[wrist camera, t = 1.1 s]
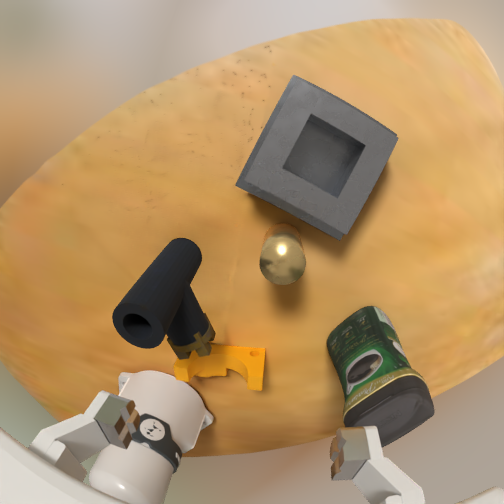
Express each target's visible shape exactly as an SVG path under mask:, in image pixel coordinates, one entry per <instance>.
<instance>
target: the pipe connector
mask: <svg viewBox="0 0 504 504" xmlns="http://www.w3.org/2000/svg"><path fill="white" fill-rule="evenodd" d="M201 261H202V254H201V251H200V249H199V247H198V246H197V245H196V244H195V243H194V242H193V241H191V240H189V239H186V238H177V239H174V240H172V241H171V242H170V243H169V244H168V245H167V246H166V247H165V248H164V250H163V251H162V252H161V253H160V254H159V255H158V257H157V258H156V259H155V260H154V261H153V262H152V264H151V265H150V266H149V267H148V268H147V270H146V271H145V272H144V273H143V274H142V276H141V277H140V278H139V279H138V281H137V282H136V283H135V284H134V285H133V287H132V288H131V289H130V290H129V292H128V293H127V294H126V295H125V297H124V298H123V299H122V300H121V302H120V303H119V304H118V306H117V307H116V308H115V310H114V312H113V317H112V318H113V323H114V326H115V328H116V330H117V332H118V333H119V334H120V335H121V336H122V337H123V338H124V339H125V340H126V341H127V342H129V343H131V344H132V345H135V346H137V347H140V348H146V349H147V348H154V347H157V346H159V345H160V344H161V342H162V341H163V339H164V337H165V335H166V334H167V336H168V338H167V341H168V343H169V344H170V346H171V347H172V349H173V351H174V352H175V354H176V355H177V357H178V358H179V360H182V359H189V358H190V355H191V352H192V351H194V350H195V351H196V352H197V354H198V356H199V357H203V356H209V355H210V353H211V349H212V347H211V345H210V343H209V342H208V341H213V340H214V338H215V334H216V333H215V331H214V329H213V327H212V325H211V323H210V321H209V319H208V317H207V315H206V313H203V311H202V309H201V307H200V305H199V303H198V301H197V299H196V297H195V295H194V293H193V291H192V289H191V287H190V284H191V282H192V280H193V278H194V276H195V274H196V272H197V270H198V268H199V266H200V264H201Z"/></svg>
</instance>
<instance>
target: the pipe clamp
mask: <svg viewBox="0 0 504 504" xmlns="http://www.w3.org/2000/svg"><path fill="white" fill-rule="evenodd" d="M210 345H211V347H212V349H211V353H210V355H209V356H203V357H199V356H198V354H197V352H196V351H195V350H194V351H192V352H191V355H190V358H189V359H182V360H179V358H177V360H176V362H175V364H174V366H173V367H174V372H175V378H176V380H180V381H186V382H189V381H190V379H191V378H192V377H193V376H200V377H209V376H226V375H227V371H228V369H232V370H234V371H236V372H238V373H240V374H241V375H242V376H243V377H244V378H245V380H246V382H247V389H250V390H262V384H263V374H264V363H265V349H263V348H250V347H238V346H228V345H218V344H210Z"/></svg>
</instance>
